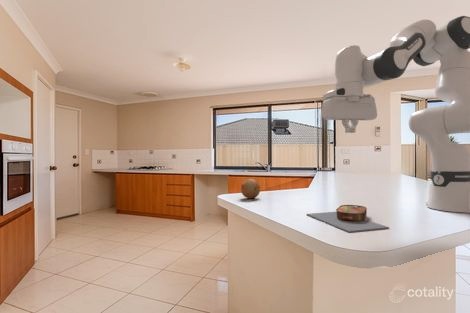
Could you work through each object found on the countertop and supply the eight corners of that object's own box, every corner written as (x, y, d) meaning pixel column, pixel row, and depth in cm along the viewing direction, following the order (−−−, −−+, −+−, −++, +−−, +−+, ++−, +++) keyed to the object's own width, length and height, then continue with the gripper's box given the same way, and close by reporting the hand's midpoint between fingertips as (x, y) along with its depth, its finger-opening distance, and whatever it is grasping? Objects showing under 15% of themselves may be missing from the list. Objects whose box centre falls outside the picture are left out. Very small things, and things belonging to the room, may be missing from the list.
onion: (250, 200, 120) (249, 180, 121) (237, 198, 128) (236, 179, 128) (264, 198, 127) (264, 178, 127) (251, 196, 134) (250, 177, 134)
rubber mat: (338, 212, 91) (338, 211, 91) (388, 228, 70) (388, 227, 70) (306, 215, 88) (306, 213, 88) (348, 232, 67) (348, 231, 67)
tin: (363, 214, 75) (333, 209, 79) (362, 224, 75) (332, 219, 79) (368, 206, 87) (342, 202, 92) (367, 215, 87) (342, 210, 92)
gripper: (367, 96, 94) (368, 133, 94) (318, 94, 89) (319, 133, 89) (381, 92, 88) (382, 131, 88) (329, 90, 83) (330, 131, 83)
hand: (350, 132), depth 88 cm, fingers closed
